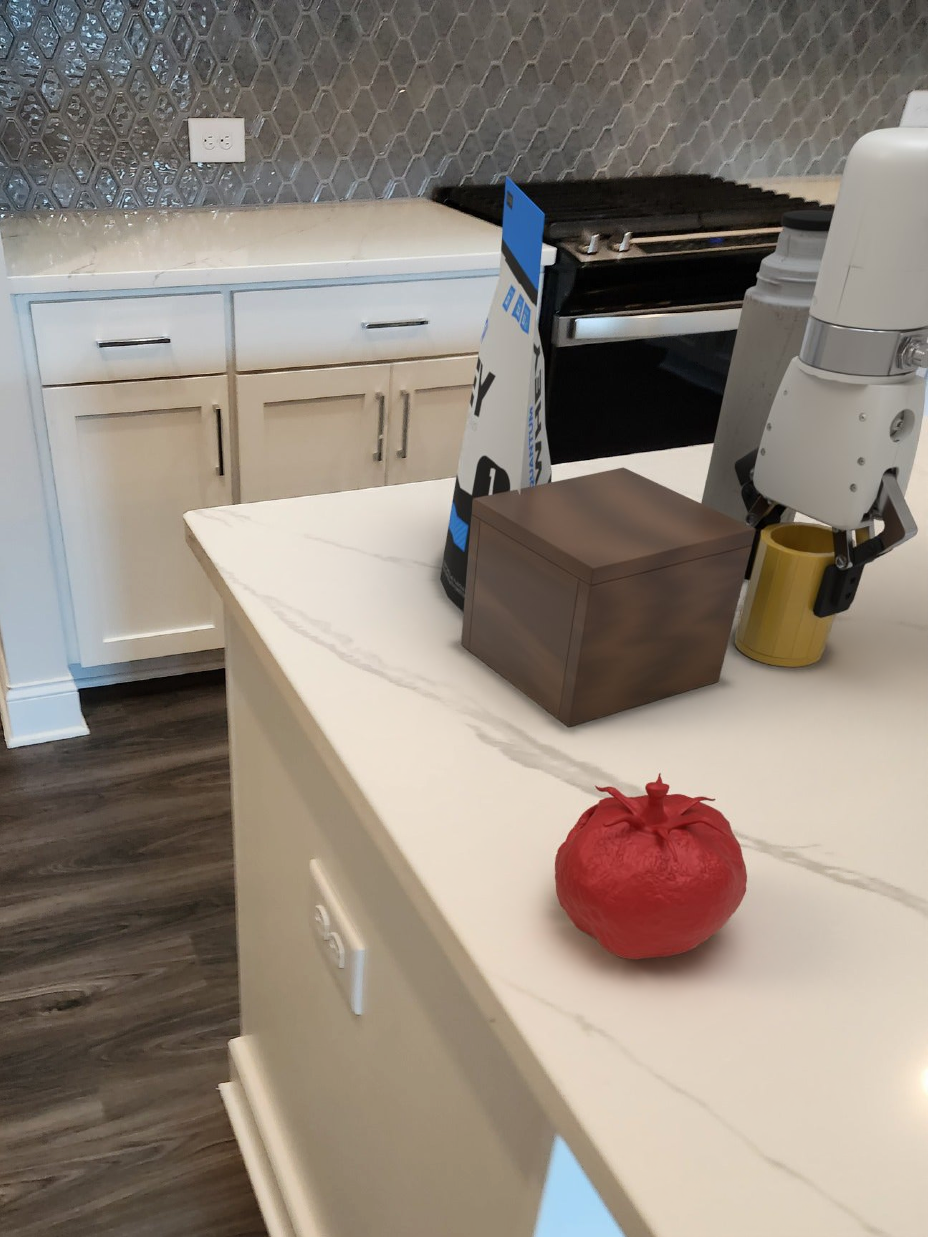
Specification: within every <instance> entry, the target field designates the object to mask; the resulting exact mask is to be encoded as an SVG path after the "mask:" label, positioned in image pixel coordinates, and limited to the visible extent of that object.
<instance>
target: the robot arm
mask: <svg viewBox="0 0 928 1237" xmlns="http://www.w3.org/2000/svg"><path fill="white" fill-rule="evenodd" d="M846 158H847V159H846V161H845V165H844V168H843V172H842V176H841V180H840V183H839V184H840V185H839V188H838V193H837V197H836V200H835V205H834V209H833V211H832V212H833V217H832V221H831V225H830V229H829V233H828V237H827V241H826V245H825V249H824V253H823V257H822V261H821V265H820V269H819V274H818V278H817V282H816V286H815V290H814V294H813V298H812V302H811V306H810V310H809V314H808V318H807V322H806V326H805V331H804V335H803V339H802V343H801V347H800V351H799V355H798V356H796V357H794V358H793V359H792V360H791V362H790V364H789V366H788V368H787V371H786V373H785V375H784V377H783V380H782V382H781V384H780V387H779V389H778V392H777V394H776V397H775V400H774V402H773V405H772V408H771V411H770V414H769V417H768V420H767V423H766V426H765V429H764V432H763V436H762V439H761V443H760V446H758V447H757V448H755V449H754V450H752V451H751V452H749V453H748V454H746V455H745V456H743V457H741V458H740V459H738V460H737V461H736V462H735V464H734V469H735V472H736V475H737V478H738V481H739V484H740V487H742V490H741V496H742V499H743V501H744V504H745V507H746V509H747V512H748V514H747V515H746V524H747V525H748V526H750V527H753V528H755V529H756V531H755V535H754V539H753V543H752V548H751V552H750V556H749V560H748V564H747V568H746V572H745V576H744V580H745V581H749V577H750V573H751V569H752V565H753V561H754V557H755V553H756V549H757V545H758V541H759V537H760V533H761V530H763V529H764V528H765V527H767V526H768V525H772V524H776V523H780V521H781V520H782V519H783V517H784V516H785V515H786V513H787V512H788V511H789V510H790V509H792V510H794V511H796V513H799V514H801V515H804V516H806V517H808V518H810V519H812V520H815V521H817V522H820V523H821V524H825V525H826V526H828V527H832V534H833V545H834V557H835V564H831V565H828V566H827V567H826V568H825V570H824V574H823V577H822V581H821V584H820V588H819V591H818V594H817V598H816V601H815V605H814V608H813V612H814V615H815V616H817V617H819V618H823V617H827V616H830V615H834V614H835V615H837V614H840V613H843V612H847V611H848V610H849V609H850V607H851V605H852V604H853V602H854V600H855V597H856V594H857V591H858V588H859V586H860V581H861V579H862V575H863V572H864V569H865V565H867V564H870V563H874V561H876V559H878V558H881V557H882V556H884V555H886V554H888V553H890V552H892V551H893V550H894V549H895V548H898V547H899V546H901V545H902V544H904V543H906V542H907V541H910V540H911V539H913V538H914V537H916V536H917V534H918V532H919V528H918V525H917V523H916V520H915V519H914V516H913V514H912V512H911V509H910V507H909V505H908V503H907V501H906V499H905V497H906V493H907V490H908V486H909V482H910V479H911V476H912V470H913V467H914V463H915V459H916V455H917V450H918V446H919V441H920V436H921V431H922V425H923V419H924V411H925V404H926V403H925V401H926V386H927V384H926V382H927V379H926V378H925V377H923V376H921V375H918V374H917V372H918V370H919V368H922V369H927V368H928V127H922V126H919V127H917V126H916V127H915V126H907V127H906V126H905V127H903V126H901V127H887V128H880V129H875V130H872V131H870V132H867V133H865V134H864V135H862V136H861V137H860V138H858V140H857V141H856V142H855V143H854V144H853V146H852V148H851V149H850V151H849V153H848V155H847V157H846ZM875 521H880V522H883V529H882V530H881V532H879V533H878V534H877V535H876V529H875ZM781 523H782V522H781ZM853 531H854V533H855V534H854V538H855V547H854V548H853V540H854V539H853Z"/></svg>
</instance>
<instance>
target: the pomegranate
mask: <svg viewBox="0 0 928 1237" xmlns="http://www.w3.org/2000/svg"><path fill="white" fill-rule="evenodd" d="M661 775H662V773H661V772H659V773H658V776H657V779H656V781H650V782H647V783H646V784H645V786H644V790H645V792H646V794H643V795H639V796H626V795H625V794H623V793H622V792H621V791H620V790H619V789H617V788H616V787H614V786H605V787H599V786H597V785H594V787H595V789H596V790H597V791H598V792H601V793H608V795H610V797H609V796H608V797H605V798H602V799H600V800H599V801H598V803H597V804H594V805H592V806H591V807H589V808H587V809H586V810H584V812H582V814H581V815H580V817H579V818H578V819H577V822H576V823H575V824H574V826H573V827H572V828H571V829H570V830H569V832H568V834H567V836H566V839H565V841H564V842H562V843H561V844H560V845H559V847H558V848H557V851H556V854H555V857H554V858H555V859H554V872H555V873H554V881H555V893H556V897H557V900H558V902H559V906H560V907H561V909H563V911H564V912H565V914H566V915H567V916H568V918H569V919H570V920H571V922H572V923H573V925H574V926H575V927H577V929H578V930H580V931H581V932H583V933H585V934H587V935H588V936H590V937H593V938H594V939H596V940H597V941H598V943H599V944H600V946H601V947H602V948H603V949H604V950H606V951H608V952H609V953H610V954H613V955H614V956H618V957H621V958H623V959H629V960H640V959H648V958H660V957H667V956H668V957H669V956H674V955H679V954H682V953H685V952H689V951H691V950H693V949H694V948H696V947H697V946H698V945H700V944H701V943H704V942H705V941H707V940H708V939H709V938H711V937H712V936H714V935H715V934H716V933H717V932H718V931H719V930H720V929H722V928H723V927H724V926H725V924H726V923H727V922H728V921H729V919H730V918H731V917H732V916H733V914H735V912H736V911H737V909H738V908H739V907H740V905H741V903H742V902H743V899H744V897H745V895H746V892H747V885H748V884H747V883H748V872H747V866H746V863H745V861H744V856H743V850H742V847H741V844H740V842H739V841H738V840H737V837H736V835H735V834H734V832H733V830H732V827H731V824H730V822H729V820H728V819H727V818H726V817H725V815H724V814H723V813H722V812H721V811H720V810H718V809H717V808H715V807H713V806H711V805H708V804H707V803H703V802H704V801H709V802H715V801H716V798H711V797H707V796H695V797H691V796H687V795H685V794H681V793H672V794H668V793H669V790H670V784H668V783H664V782H663V779H662V777H661Z"/></svg>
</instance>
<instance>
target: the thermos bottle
mask: <svg viewBox="0 0 928 1237" xmlns="http://www.w3.org/2000/svg"><path fill="white" fill-rule="evenodd" d="M833 212H834V211H829V210H819V209H818V210H817V209H816V210H815V209H814V210H813V209H811V210H810V209H808V210H806V209H805V210H803V209H802V210H791V211H787V212H784V213H782V216H781V220H780V225H781V226H782V229H781V231H780V232H779V234H778V238H777V242H776V247H775V251H774V252H773V253H770V254H769V255H767V256H765V257H764V258H763V259H762V260H761V263H760V265H759V266H760V267H759V271H758V272H757V273H756V279H757V281H756V285H754V286H751V287H749V288H748V289H746V291H745V293H744V297H743V302H742V307H741V311H740V317H739V322H738V326H737V330H736V336H735V341H734V344H733V350H732V355H731V359H730V364H729V369H728V374H727V379H726V383H725V388H724V393H723V398H722V403H721V407H720V410H719V411H720V412H719V416H718V421H717V426H716V431H715V436H714V441H713V445H712V450H711V455H710V460H709V464H708V468H707V469H708V470H707V474H706V479H705V484H704V488H703V492H702V498H701V501H700V503H701V504H703V505H705V506H707V507H710V508H712V509H714V510H716V511H718V512H720V513H722V514H725V515H727V516H729V517H731V518H733V519H735V520H738V521H740V522H742V523H744V524H746V515H747V514H748V512H747V509H746V507H745V504H744V501H743V499H742V496H741V490H742V487H740V484H739V481H738V478H737V475H736V472H735V469H734V464H735V462H736V461H737V460H738V459H740V458H741V457H743V456H745V455H746V454H748V453H749V452H751V451H752V450H754V449H755V448H757V447H758V446H760V443H761V439H762V436H763V432H764V429H765V426H766V423H767V420H768V417H769V414H770V411H771V408H772V405H773V402H774V400H775V397H776V394H777V392H778V389H779V387H780V384H781V382H782V380H783V377H784V375H785V373H786V371H787V368H788V366H789V364H790V362H791V360H792V359H793V358H794V357H796V356H798V355H799V351H800V347H801V343H802V339H803V335H804V331H805V326H806V322H807V318H808V314H809V310H810V306H811V302H812V298H813V294H814V290H815V286H816V282H817V278H818V274H819V269H820V265H821V261H822V257H823V253H824V249H825V245H826V241H827V237H828V233H829V229H830V225H831V221H832V217H833ZM796 514H797V512H796V511H794V510H792V509H790V510H789V511H788V512H787V513H786V515H785V516H784V517H783V519H782V520H781V521H780V523H781V522H795V518H796ZM746 525H747V524H746Z"/></svg>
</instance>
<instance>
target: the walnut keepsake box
mask: <svg viewBox="0 0 928 1237" xmlns="http://www.w3.org/2000/svg"><path fill="white" fill-rule="evenodd" d="M755 531H756V529H755V528H753V527H750V526H748V525H746V524H744V523H742V522H740V521H738V520H735V519H733V518H731V517H729V516H727V515H725V514H722V513H720V512H718V511H716V510H714V509H712V508H710V507H707V506H705V505H703V504H701V502H698V501H697V500H694V499H692V498H690V497H688V496H686V495H684V494H682V493H679V492H677V491H675V490H673V489H671V488H669V487H666V486H665V485H663V484H660V483H658V482H656V481H654V480H652V479H650V478H647V477H645V476H643V475H641V474H638V473H637V472H635V471H632V470H630V469H628V468H626V467H619V468H614V469H609V470H605V471H599V472H595V473H591V474H584V475H580V476H576V477H575V476H574V477H570V478H566V479H561V480H556V481H551V483H546V484H541V485H536V486H531V487H526V488H522V489H521V492H520V495H519V492H518V490H512V491H507V492H502V493H497V494H493V495H488V496H483V497H478V498H474V499H473V505H472V517H471V529H470V541H469V554H468V566H467V578H466V590H465V602H464V612H463V615H462V628H461V639H460V645H461V646H463V647H464V648H465V649H466V650H468V651H469V652H471V653H472V654H473V655H474V656H476V658H478V660H480V661H481V662H483V663H484V664H485V665H487V666H488V667H490V668H491V670H493V671H495V672H496V673H497V674H499V675H500V676H501V677H503V678H504V679H505V680H507V682H509V683H511V684H512V685H513V686H515V687H516V688H517V689H518V690H520V691H521V692H523V694H525V695H526V696H527V697H528V698H530V699H531V700H533V701H534V702H535V703H536V704H538V705H539V706H541V707H542V708H543V709H545V710H546V711H547V712H548V713H549V714H551V715H553V717H555V718H556V719H558V721H560V722H562V723H563V724H564V725H565V726H567V727H573V726H576V725H580V724H584V723H586V722H589V721H592V720H593V721H594V720H596V719H599V718H602V717H606V716H609V715H612V714H616V713H619V712H622V711H626V710H629V709H632V708H635V707H638V706H642V705H645V704H650V703H651V702H655V701H659V700H662V699H665V698H669V697H671V696H674V695H679V694H681V693H685V692H688V691H691V690H694V689H698V688H701V687H704V686H708V685H712V684H715V683H717V682H719V681H720V677H721V673H722V669H723V665H724V661H725V658H726V653H727V649H728V645H729V641H730V637H731V633H732V630H733V624H734V621H735V617H736V612H737V609H738V605H739V601H740V597H741V592H742V588H743V584H744V580H745V579H744V576H745V572H746V568H747V564H748V560H749V556H750V552H751V548H752V543H753V539H754V535H755Z"/></svg>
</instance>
